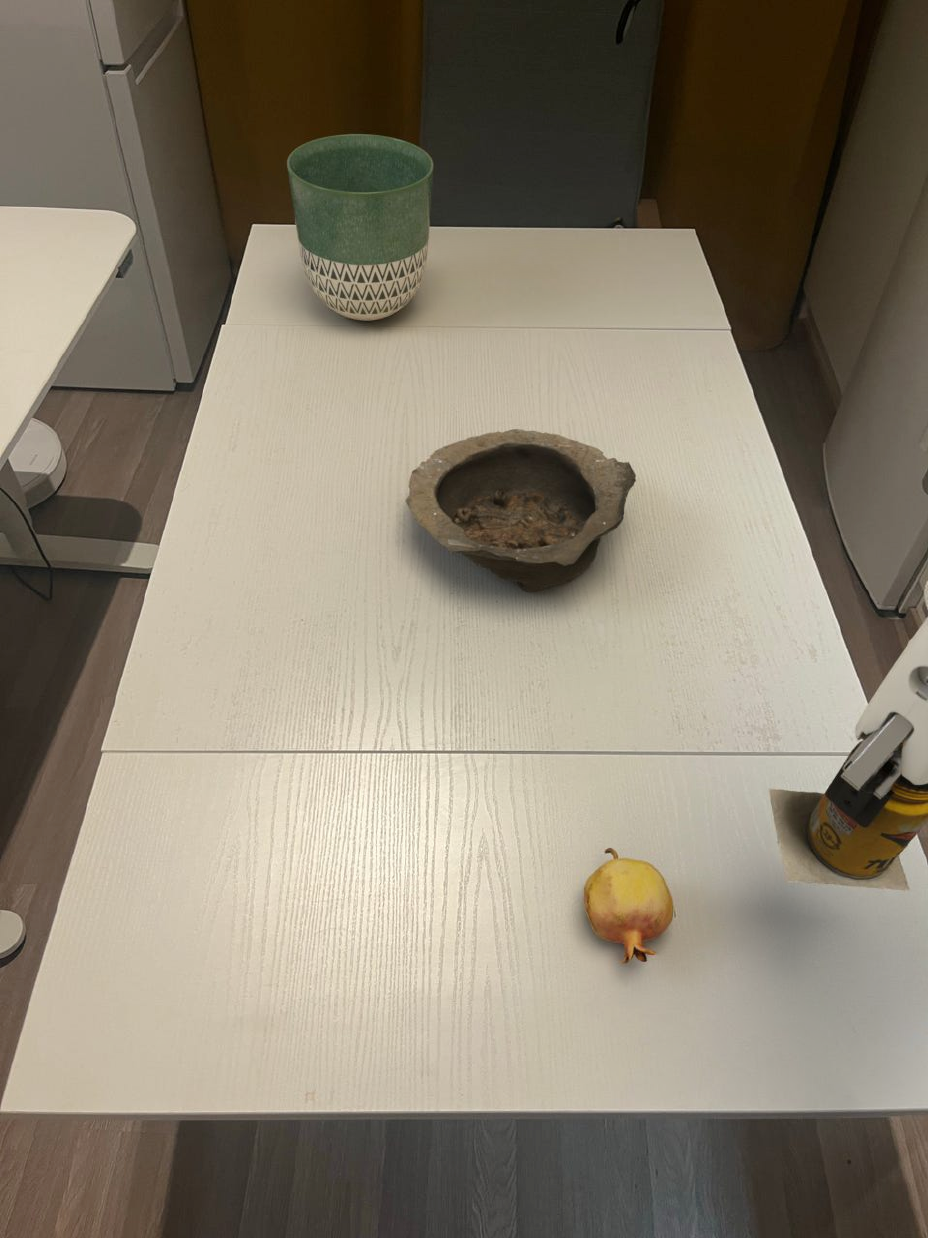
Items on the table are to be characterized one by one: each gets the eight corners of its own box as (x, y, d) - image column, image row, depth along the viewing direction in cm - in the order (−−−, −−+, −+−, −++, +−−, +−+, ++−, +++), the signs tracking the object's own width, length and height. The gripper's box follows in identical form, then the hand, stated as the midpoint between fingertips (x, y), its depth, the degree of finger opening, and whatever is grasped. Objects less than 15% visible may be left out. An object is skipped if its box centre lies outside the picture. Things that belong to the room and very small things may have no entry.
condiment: (908, 891, 62) (991, 799, 53) (785, 882, 62) (847, 789, 53) (881, 799, 67) (952, 701, 58) (767, 791, 67) (821, 692, 58)
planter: (294, 283, 140) (279, 136, 124) (416, 273, 143) (417, 130, 127) (310, 350, 127) (296, 197, 111) (443, 338, 131) (448, 188, 115)
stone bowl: (613, 632, 93) (622, 570, 86) (384, 599, 98) (375, 537, 91) (636, 483, 109) (644, 420, 102) (438, 460, 114) (433, 398, 107)
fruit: (571, 829, 72) (589, 951, 65) (657, 816, 71) (684, 939, 64) (581, 868, 77) (598, 985, 70) (661, 856, 76) (687, 974, 69)
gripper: (992, 725, 40) (848, 901, 53) (1158, 565, 48) (995, 753, 61) (851, 625, 44) (749, 812, 57) (1026, 492, 52) (900, 684, 65)
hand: (877, 780), depth 59 cm, fingers closed on condiment, 6 cm apart
